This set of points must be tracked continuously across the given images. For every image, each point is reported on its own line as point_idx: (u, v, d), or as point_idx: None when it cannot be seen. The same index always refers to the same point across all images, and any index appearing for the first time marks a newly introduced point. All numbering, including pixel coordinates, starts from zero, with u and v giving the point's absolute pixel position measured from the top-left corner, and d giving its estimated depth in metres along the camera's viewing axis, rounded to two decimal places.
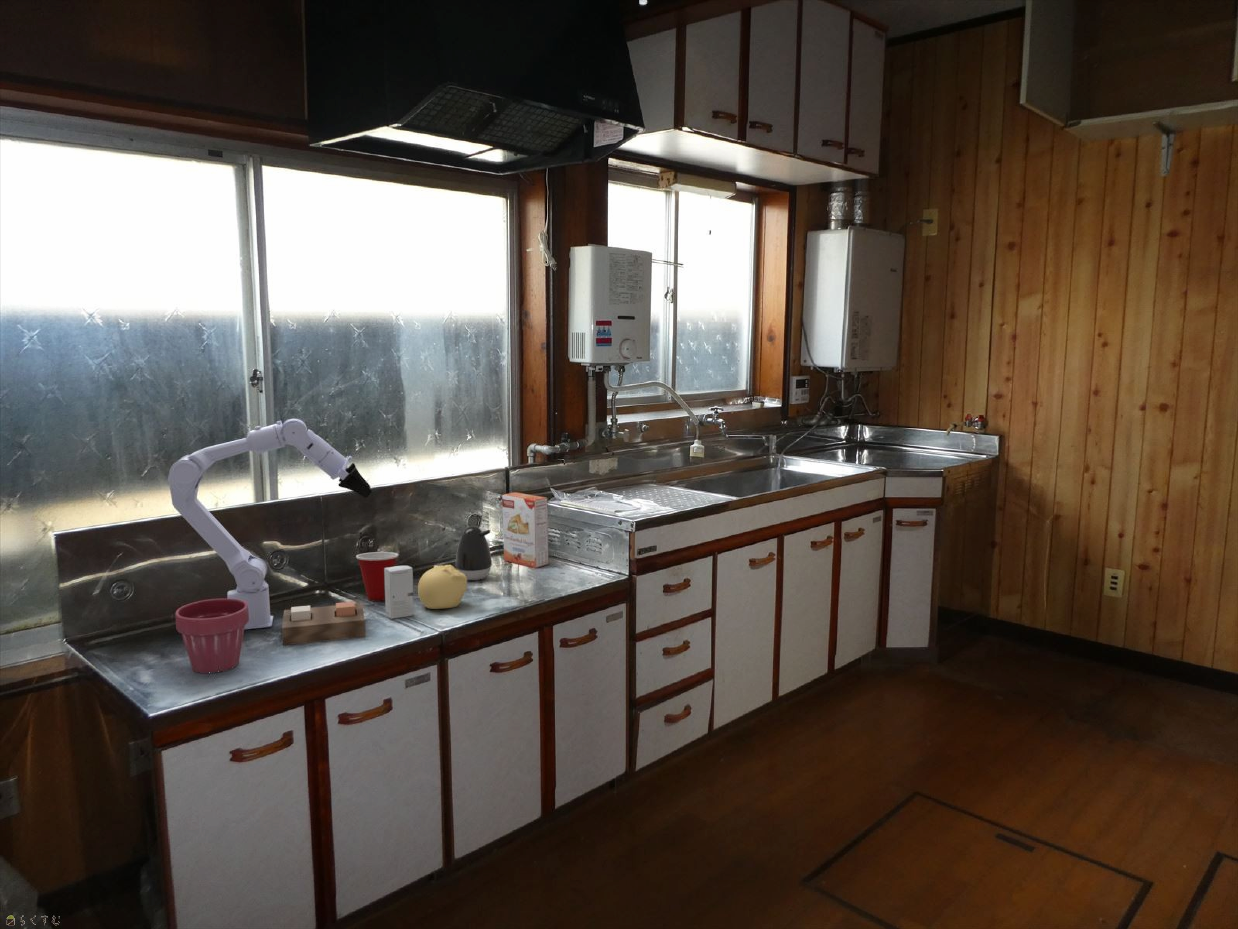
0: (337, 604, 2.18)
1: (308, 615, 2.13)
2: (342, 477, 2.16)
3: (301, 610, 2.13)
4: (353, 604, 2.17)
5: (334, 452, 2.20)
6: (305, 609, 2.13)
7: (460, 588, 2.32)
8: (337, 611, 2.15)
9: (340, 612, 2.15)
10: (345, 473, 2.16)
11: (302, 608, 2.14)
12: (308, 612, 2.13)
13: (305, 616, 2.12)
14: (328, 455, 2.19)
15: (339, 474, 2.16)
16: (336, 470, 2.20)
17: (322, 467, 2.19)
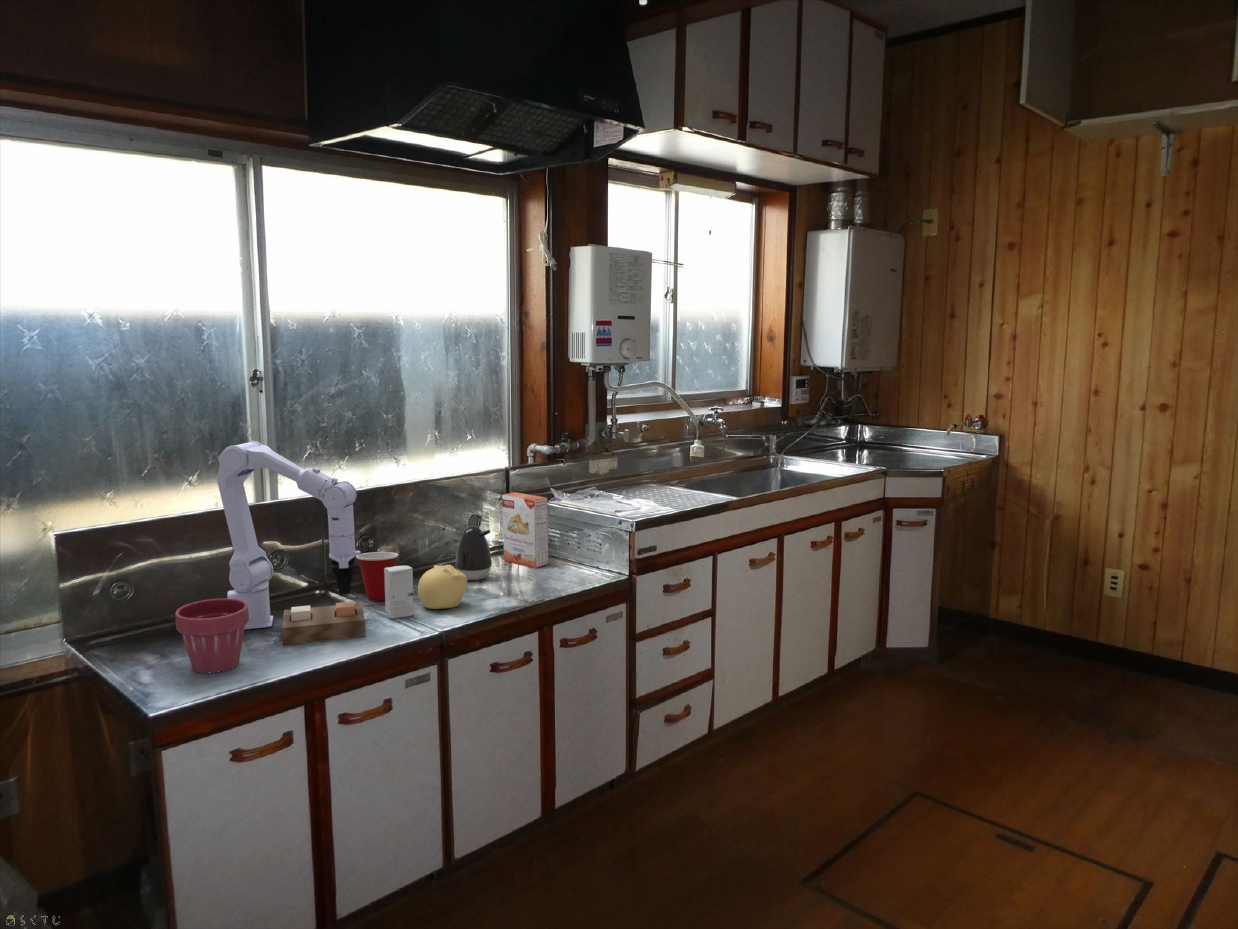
0: (337, 604, 2.18)
1: (308, 615, 2.13)
2: (341, 566, 2.08)
3: (301, 610, 2.13)
4: (353, 604, 2.17)
5: (352, 539, 2.14)
6: (305, 609, 2.13)
7: (460, 588, 2.32)
8: (337, 611, 2.15)
9: (340, 612, 2.15)
10: (346, 565, 2.09)
11: (302, 608, 2.14)
12: (308, 612, 2.13)
13: (305, 616, 2.12)
14: (346, 538, 2.12)
15: (341, 562, 2.08)
16: (340, 554, 2.12)
17: (332, 542, 2.12)
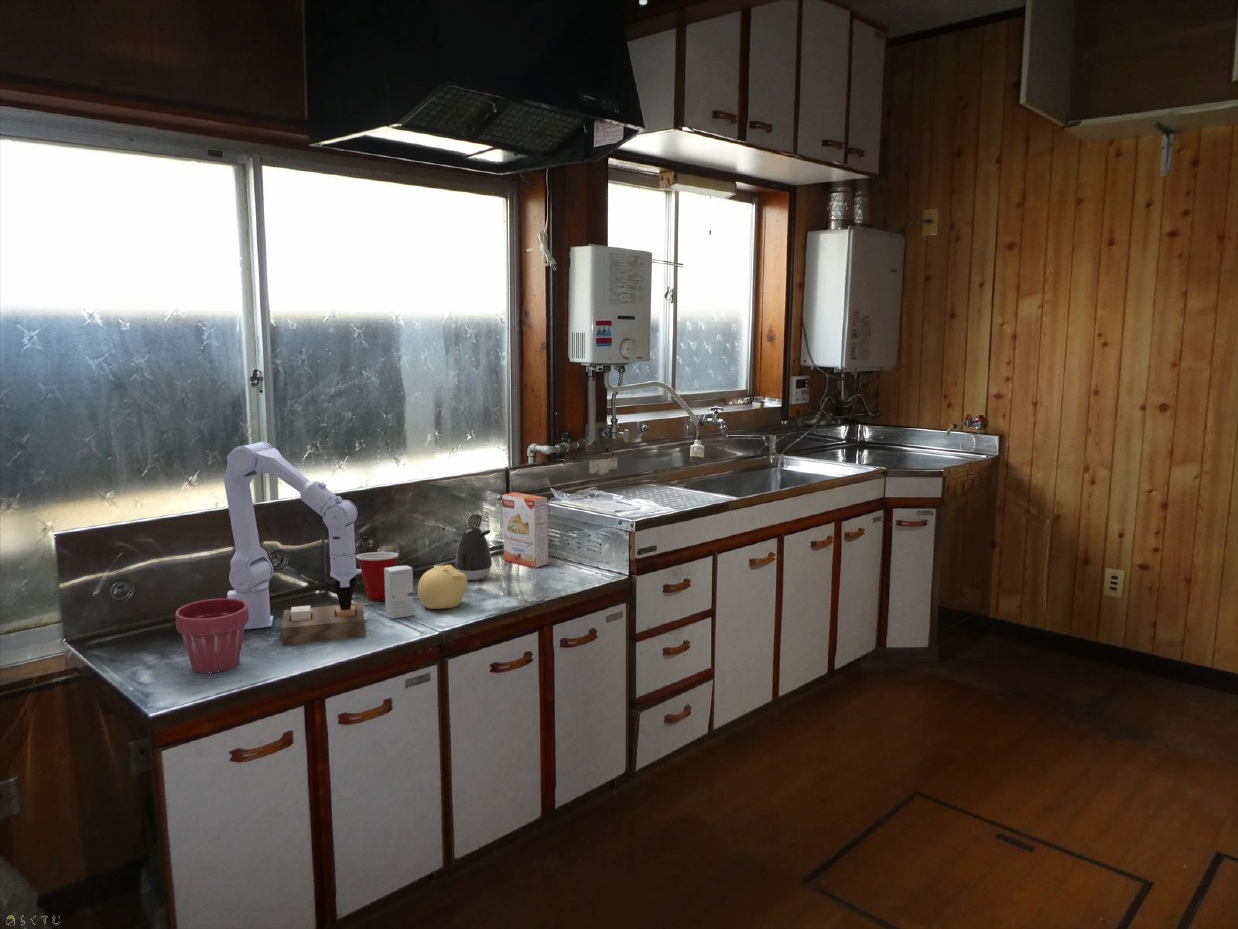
0: (337, 608, 2.18)
1: (308, 615, 2.13)
2: (342, 585, 2.09)
3: (301, 610, 2.13)
4: (353, 608, 2.17)
5: (353, 557, 2.15)
6: (305, 609, 2.13)
7: (460, 588, 2.32)
8: (337, 615, 2.15)
9: (340, 616, 2.15)
10: (347, 584, 2.09)
11: (302, 608, 2.14)
12: (308, 612, 2.13)
13: (305, 616, 2.12)
14: (347, 556, 2.13)
15: (342, 581, 2.09)
16: (341, 573, 2.13)
17: (333, 560, 2.13)
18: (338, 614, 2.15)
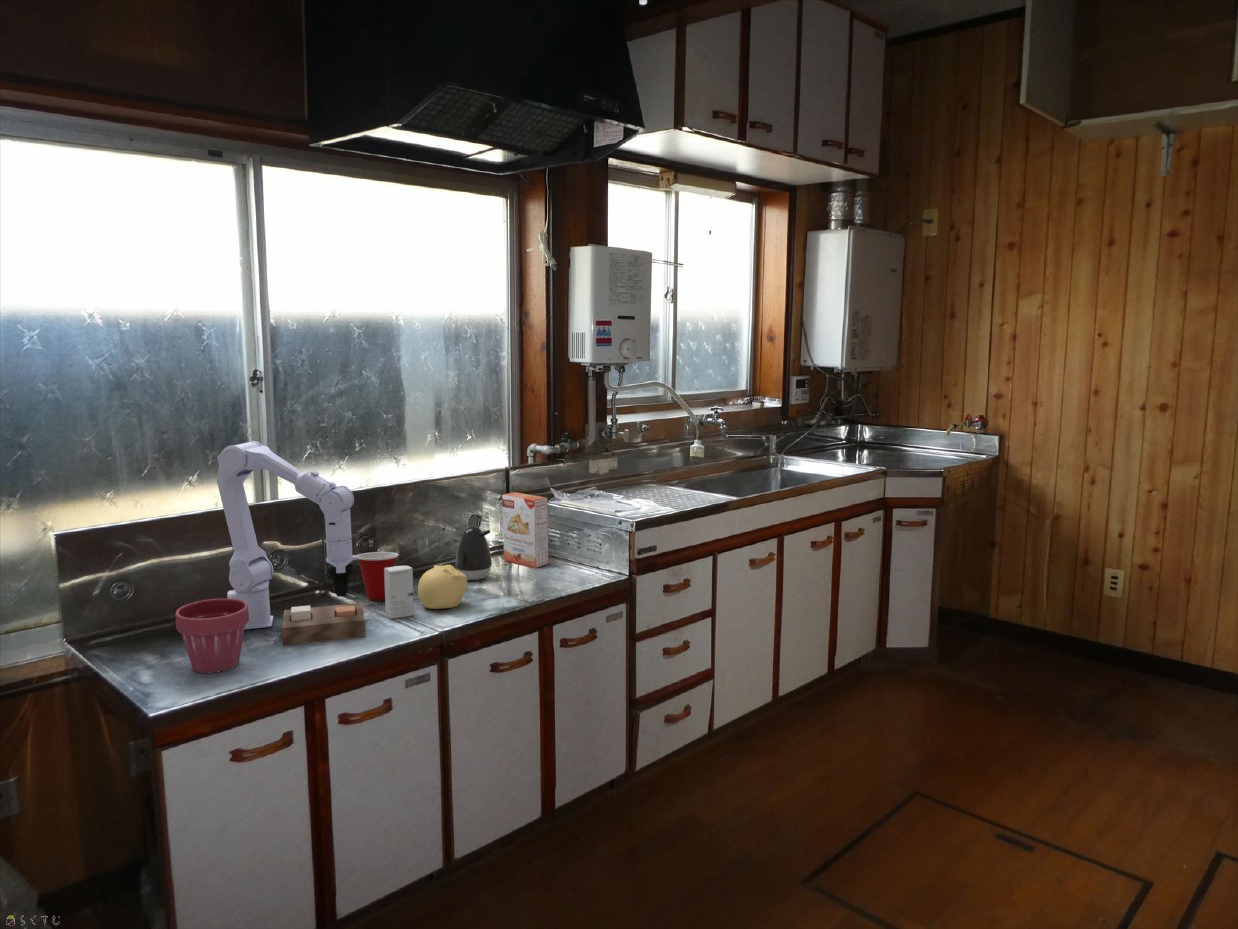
0: (337, 608, 2.18)
1: (308, 615, 2.13)
2: (338, 571, 2.08)
3: (301, 610, 2.13)
4: (353, 608, 2.17)
5: (349, 543, 2.14)
6: (305, 609, 2.13)
7: (460, 588, 2.32)
8: (337, 615, 2.15)
9: (340, 616, 2.15)
10: (343, 570, 2.09)
11: (302, 608, 2.14)
12: (308, 612, 2.13)
13: (305, 616, 2.12)
14: (343, 542, 2.12)
15: (338, 566, 2.08)
16: (337, 559, 2.12)
17: (329, 546, 2.12)
18: (338, 614, 2.15)
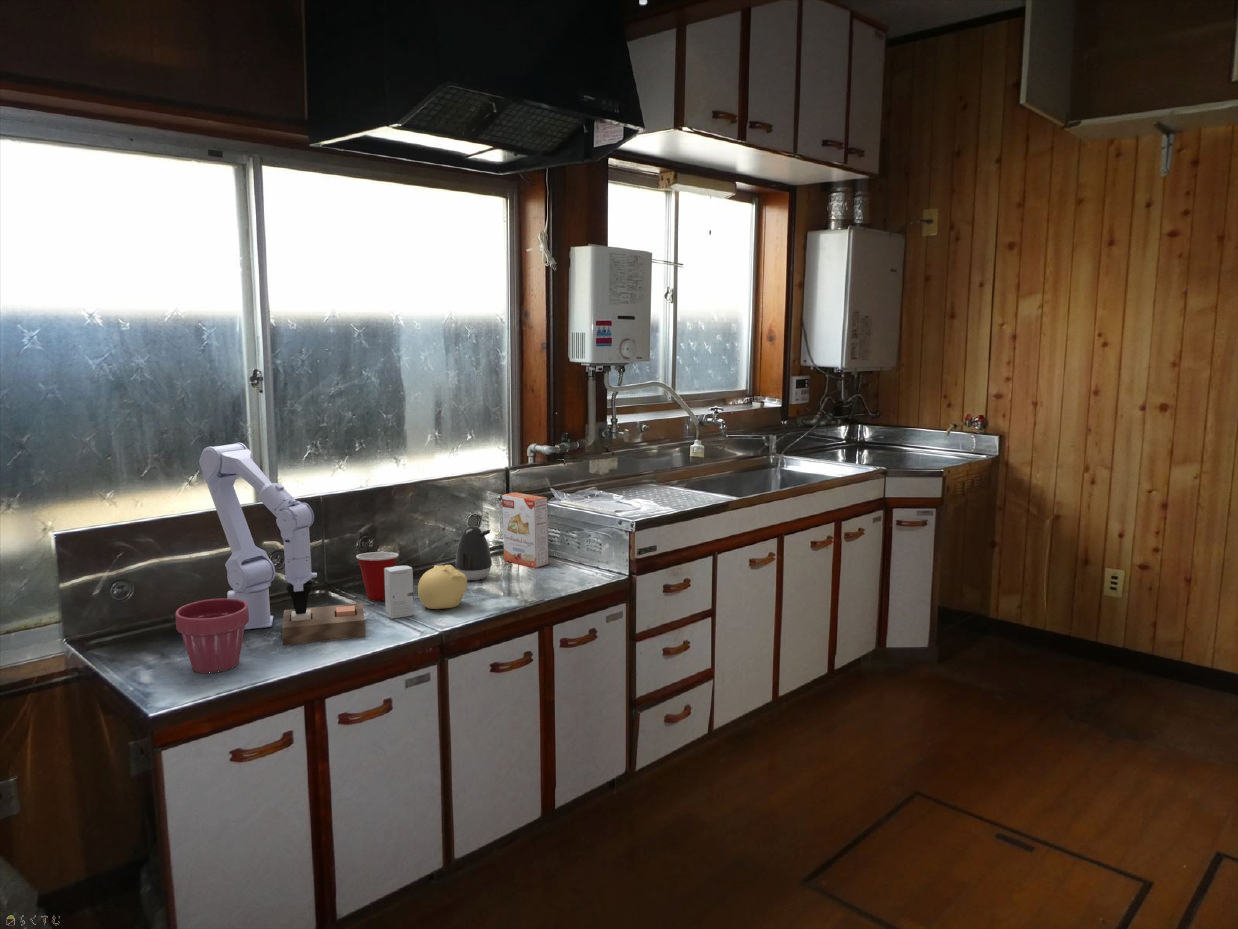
0: (337, 608, 2.18)
1: (308, 619, 2.13)
2: (295, 589, 2.06)
3: (301, 614, 2.13)
4: (353, 608, 2.17)
5: (308, 561, 2.11)
6: (305, 614, 2.13)
7: (460, 588, 2.32)
8: (337, 615, 2.15)
9: (340, 616, 2.15)
10: (301, 588, 2.06)
11: None
12: (308, 616, 2.13)
13: None
14: (301, 560, 2.10)
15: (296, 585, 2.06)
16: (295, 576, 2.10)
17: (287, 564, 2.10)
18: (338, 614, 2.15)
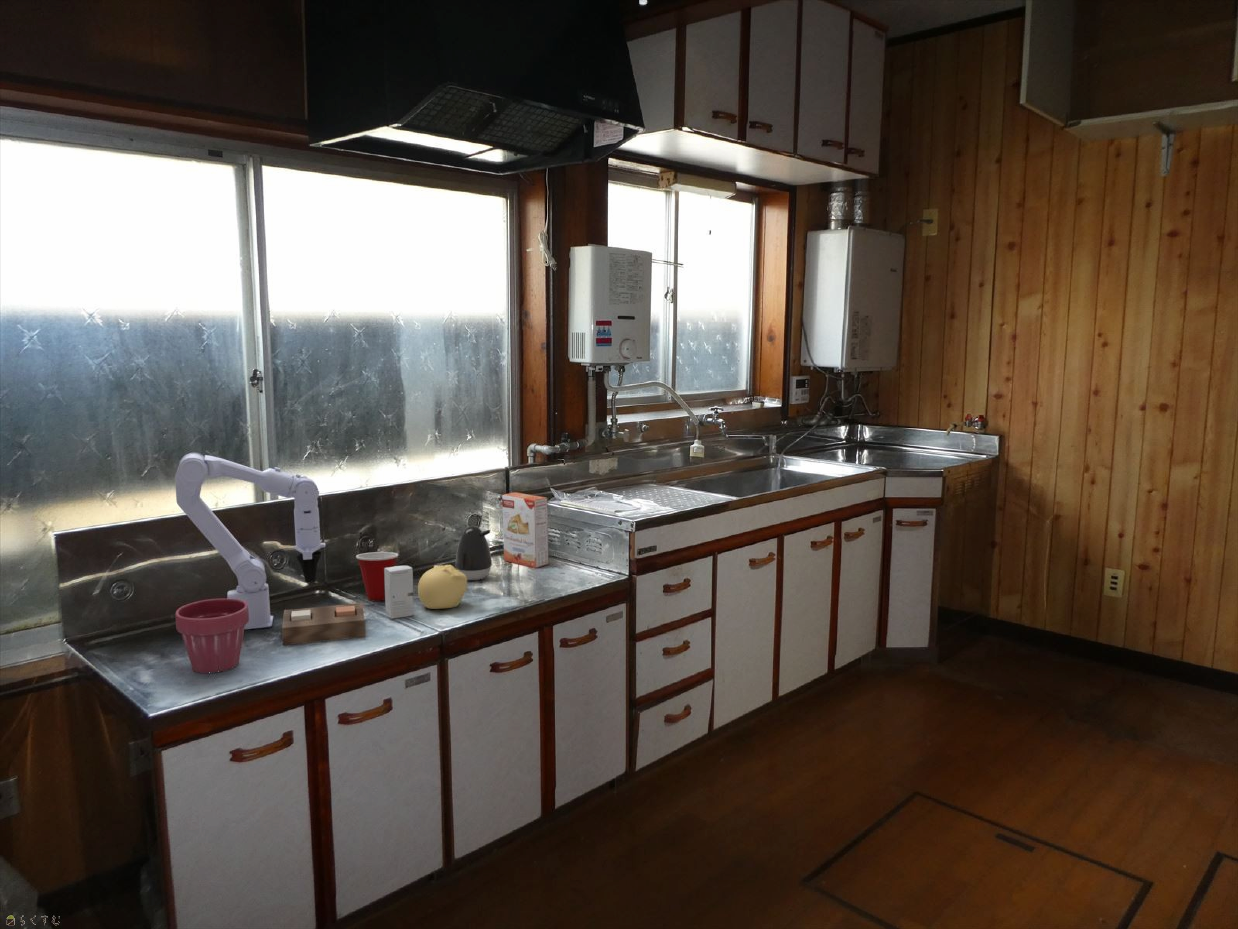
0: (337, 608, 2.18)
1: (308, 619, 2.13)
2: (305, 557, 2.17)
3: (301, 614, 2.13)
4: (353, 608, 2.17)
5: (317, 531, 2.23)
6: (305, 614, 2.13)
7: (460, 588, 2.32)
8: (337, 615, 2.15)
9: (340, 616, 2.15)
10: (310, 556, 2.18)
11: (302, 612, 2.14)
12: (308, 616, 2.13)
13: None
14: (311, 530, 2.21)
15: (305, 553, 2.17)
16: (305, 546, 2.21)
17: (297, 534, 2.22)
18: (338, 614, 2.15)
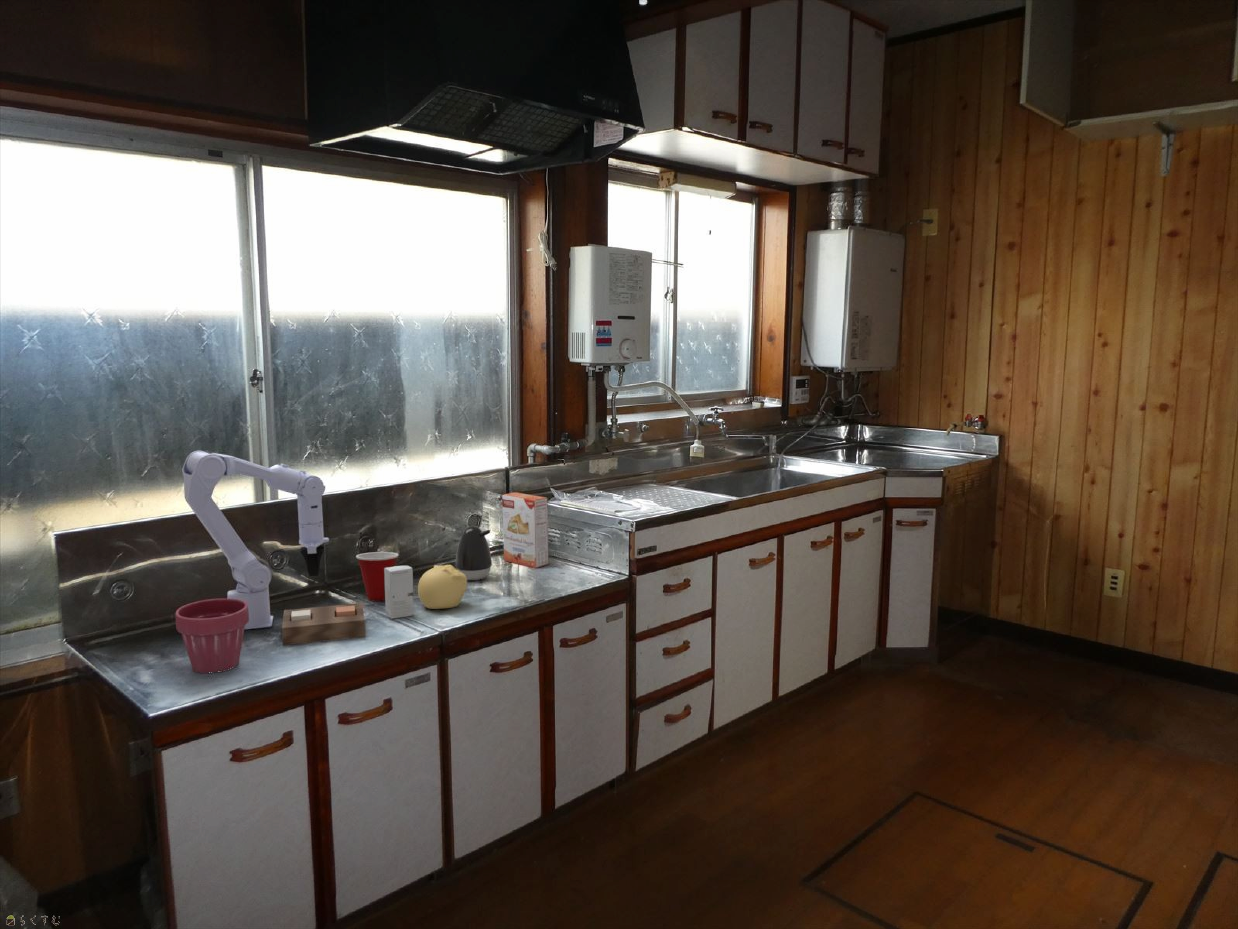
0: (337, 608, 2.18)
1: (308, 619, 2.13)
2: (309, 551, 2.22)
3: (301, 614, 2.13)
4: (353, 608, 2.17)
5: (320, 526, 2.28)
6: (305, 614, 2.13)
7: (460, 588, 2.32)
8: (337, 615, 2.15)
9: (340, 616, 2.15)
10: (314, 550, 2.23)
11: (302, 612, 2.14)
12: (308, 616, 2.13)
13: None
14: (314, 525, 2.26)
15: (309, 547, 2.22)
16: (309, 540, 2.26)
17: (301, 529, 2.26)
18: (338, 614, 2.15)
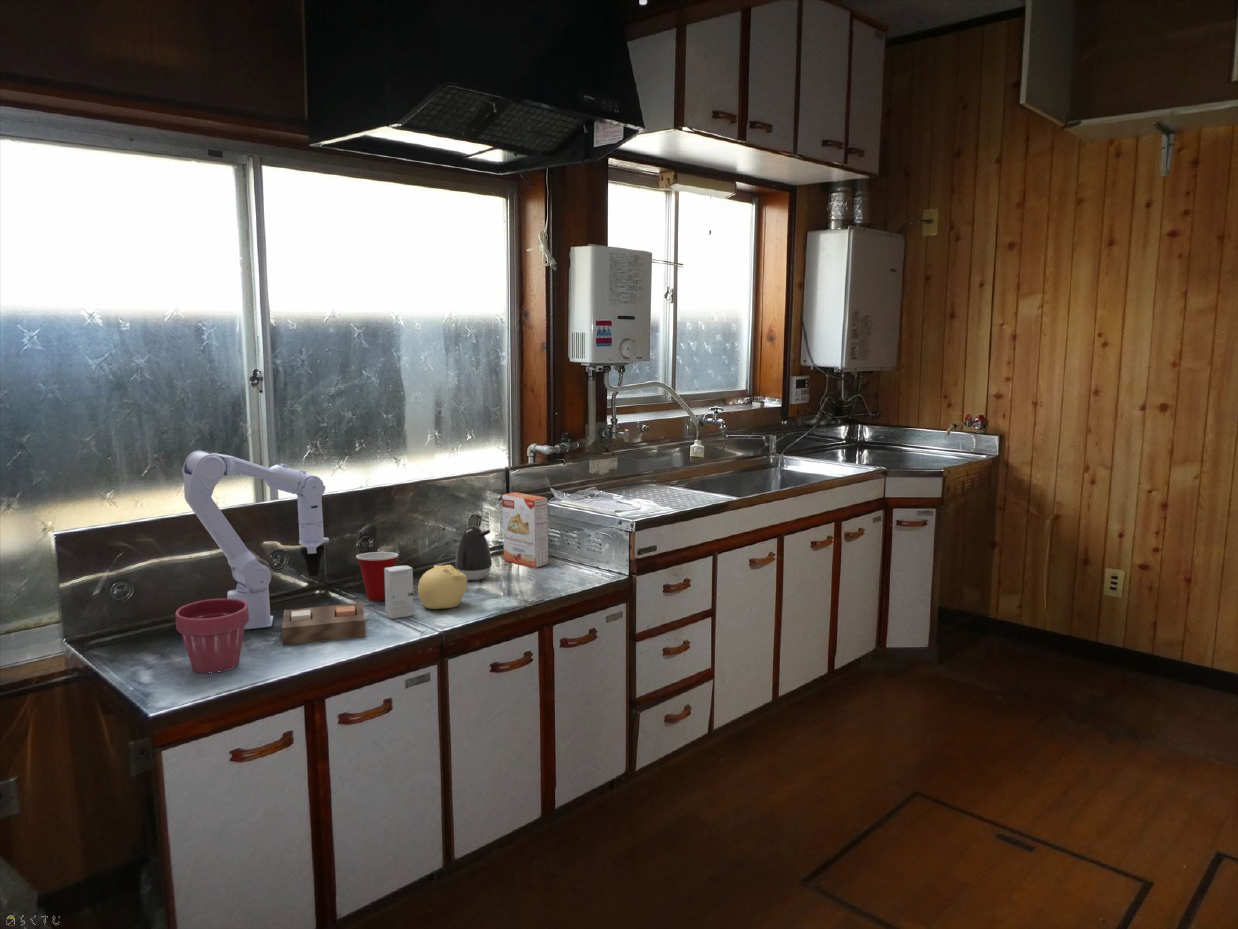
0: (337, 608, 2.18)
1: (308, 619, 2.13)
2: (309, 551, 2.22)
3: (301, 614, 2.13)
4: (353, 608, 2.17)
5: (320, 526, 2.28)
6: (305, 614, 2.13)
7: (460, 588, 2.32)
8: (337, 615, 2.15)
9: (340, 616, 2.15)
10: (314, 550, 2.23)
11: (302, 612, 2.14)
12: (308, 616, 2.13)
13: None
14: (314, 525, 2.26)
15: (309, 547, 2.22)
16: (309, 540, 2.26)
17: (301, 529, 2.26)
18: (338, 614, 2.15)
